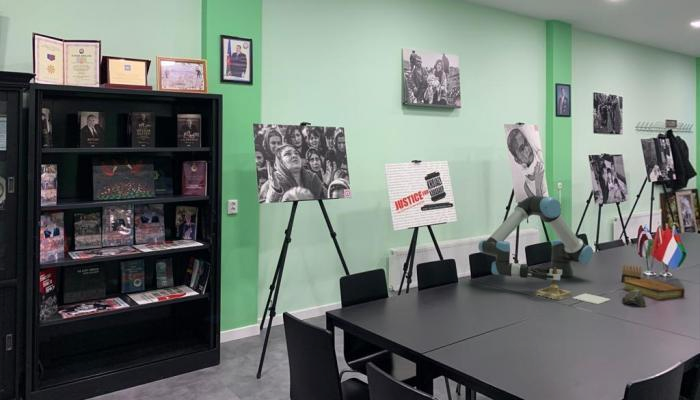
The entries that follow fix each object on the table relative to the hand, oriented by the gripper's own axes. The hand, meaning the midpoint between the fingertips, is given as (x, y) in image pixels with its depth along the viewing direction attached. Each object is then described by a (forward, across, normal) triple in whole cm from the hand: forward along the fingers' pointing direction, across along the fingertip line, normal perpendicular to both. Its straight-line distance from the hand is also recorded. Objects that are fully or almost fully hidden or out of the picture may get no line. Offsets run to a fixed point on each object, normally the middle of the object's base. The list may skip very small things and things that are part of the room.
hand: (561, 275), depth 275 cm
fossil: (+35, -3, -12) cm, 37 cm away
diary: (+46, -32, -13) cm, 57 cm away
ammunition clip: (+36, -51, -12) cm, 64 cm away
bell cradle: (-3, 0, -12) cm, 12 cm away
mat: (+15, -2, -12) cm, 20 cm away
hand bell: (-3, 0, -12) cm, 13 cm away
